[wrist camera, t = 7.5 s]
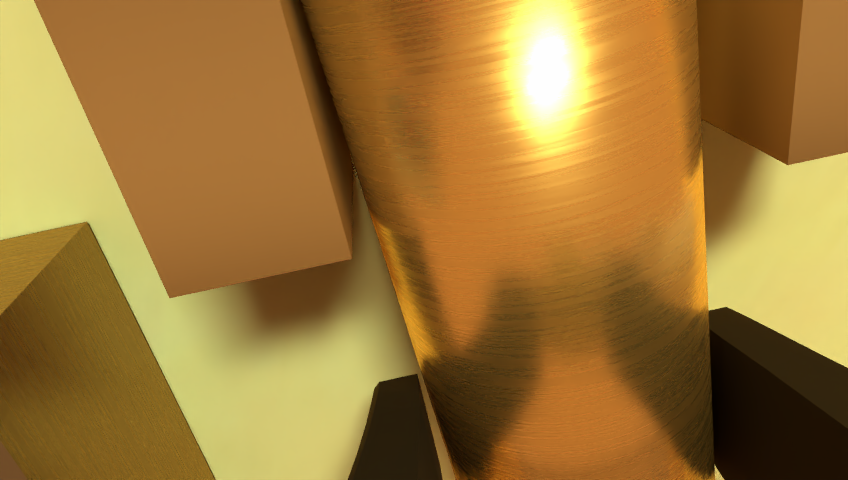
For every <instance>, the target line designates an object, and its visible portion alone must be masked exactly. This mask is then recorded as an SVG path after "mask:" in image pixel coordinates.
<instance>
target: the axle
mask: <svg viewBox="0 0 848 480" xmlns="http://www.w3.org/2000/svg"><path fill="white" fill-rule="evenodd" d="M301 3H302V6H303V9H304V12H305V15H306V18H307V21H308V24H309V27H310V30H311V33H312V37H313V40H314V43H315V46H316V49H317V52H318V55H319V58H320V61H321V64H322V67H323V70H324V73H325V77H326V80H327V83H328V86H329V89H330V92H331V95H332V98H333V101H334V104H335V107H336V110H337V114H338V117H339V120H340V123H341V126H342V129H343V132H344V135H345V138H346V141H347V144H348V147H349V151H350V154H351V157H352V160H353V163H354V166H355V169H356V172H357V175H358V178H359V181H360V184H361V187H362V191H363V194H364V197H365V200H366V203H367V206H368V209H369V212H370V215H371V218H372V221H373V224H374V228H375V231H376V234H377V237H378V240H379V243H380V246H381V249H382V252H383V255H384V258H385V261H386V265H387V268H388V271H389V274H390V277H391V280H392V283H393V286H394V289H395V292H396V295H397V298H398V301H399V305H400V308H401V311H402V314H403V317H404V320H405V323H406V326H407V329H408V332H409V335H410V338H411V342H412V345H413V348H414V351H415V354H416V357H417V360H418V363H419V366H420V369H421V372H422V375H423V379H424V382H425V385H426V388H427V391H428V394H429V397H430V400H431V403H432V406H433V409H434V412H435V415H436V419H437V422H438V425H439V428H440V431H441V434H442V437H443V440H444V443H445V446H446V449H447V452H448V456H449V459H450V462H451V465H452V468H453V471H454V474H455V477H456V480H715V468H714V442H713V416H712V391H711V365H710V339H709V313H708V287H707V261H706V235H705V209H704V183H703V157H702V131H701V105H700V79H699V54H698V28H697V2H696V0H301Z"/></svg>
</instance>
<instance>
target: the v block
mask: <svg viewBox="0 0 848 480" xmlns="http://www.w3.org/2000/svg"><path fill="white" fill-rule="evenodd" d="M0 480H215V479H214V477H213V475H212V473H211V471H210V469H209V467H208V465H207V463H206V461H205V459H204V457H203V455H202V453H201V451H200V449H199V447H198V445H197V442H196V440H195V438H194V436H193V434H192V432H191V430H190V428H189V426H188V424H187V422H186V420H185V418H184V416H183V414H182V412H181V410H180V408H179V406H178V404H177V402H176V400H175V398H174V396H173V394H172V392H171V390H170V388H169V386H168V384H167V382H166V380H165V378H164V376H163V374H162V372H161V370H160V368H159V366H158V364H157V362H156V360H155V358H154V356H153V354H152V352H151V350H150V348H149V346H148V344H147V342H146V340H145V338H144V336H143V334H142V332H141V330H140V328H139V326H138V324H137V322H136V319H135V317H134V315H133V313H132V311H131V309H130V307H129V305H128V303H127V301H126V299H125V297H124V295H123V293H122V291H121V289H120V287H119V285H118V283H117V281H116V279H115V277H114V275H113V273H112V271H111V269H110V267H109V265H108V263H107V261H106V259H105V257H104V255H103V253H102V251H101V249H100V247H99V245H98V243H97V241H96V239H95V237H94V235H93V233H92V231H91V229H90V227H89V225H88V223H87V222H83V223H79V224H74V225H69V226H65V227H60V228H55V229H51V230H46V231H41V232H37V233H32V234H27V235H23V236H18V237H13V238H9V239H4V240H0Z"/></svg>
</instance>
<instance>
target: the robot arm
mask: <svg viewBox="0 0 848 480" xmlns="http://www.w3.org/2000/svg"><path fill="white" fill-rule="evenodd" d="M708 313H709V339H710V365H711V391H712V416H713V442H714V464H715V466H716V467H717V469H718V471H719V472H720V474H721V475H722V477H723V478H724V480H848V368H847V367H845V366H843V365H841V364H839V363H837V362H835V361H833V360H831V359H829V358H827V357H825V356H823V355H821V354H819V353H817V352H815V351H813V350H811V349H809V348H807V347H805V346H803V345H801V344H799V343H797V342H795V341H793V340H791V339H789V338H788V337H786V336H784V335H782V334H780V333H778V332H776V331H774V330H772V329H770V328H768V327H766V326H764V325H762V324H760V323H758V322H756V321H754V320H752V319H750V318H748V317H746V316H744V315H742V314H740V313H738V312H736V311H734V310H732V309H730V308H727V307H724V308H720V309H715V310H710V311H708ZM348 480H442V474H441V468H440V464H439V460H438V456H437V451H436V447H435V443H434V439H433V435H432V431H431V427H430V423H429V419H428V415H427V411H426V407H425V403H424V399H423V395H422V391H421V387H420V383H419V379H418V375H417V374H414V375H409V376H405V377H400V378H396V379H391V380H386V381H382V382H379V383H378V385H377V386H376V387H375V389H374V393H373V398H372V403H371V407H370V411H369V415H368V419H367V423H366V426H365V430H364V433H363V436H362V440H361V443H360V446H359V450H358V453H357V456H356V458H355V461H354V464H353V467H352V470H351V473H350V475H349V478H348Z"/></svg>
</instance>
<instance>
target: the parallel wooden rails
mask: <svg viewBox="0 0 848 480" xmlns="http://www.w3.org/2000/svg"><path fill="white" fill-rule="evenodd" d="M34 1H35V4H36V6H37V8H38V10H39V12H40V15H41V17H42V19H43V21H44V23H45V26H46V28H47V30H48V32H49V34H50V36H51V39H52V41H53V43H54V45H55V47H56V50H57V52H58V54H59V56H60V58H61V61H62V63H63V65H64V67H65V69H66V72H67V74H68V76H69V78H70V80H71V83H72V85H73V87H74V89H75V91H76V94H77V96H78V98H79V100H80V102H81V105H82V107H83V109H84V111H85V113H86V116H87V118H88V120H89V122H90V124H91V127H92V129H93V131H94V133H95V135H96V138H97V140H98V142H99V144H100V146H101V148H102V151H103V153H104V155H105V157H106V159H107V162H108V164H109V166H110V168H111V170H112V173H113V175H114V177H115V179H116V181H117V184H118V186H119V188H120V190H121V192H122V195H123V197H124V199H125V201H126V203H127V206H128V208H129V210H130V212H131V214H132V217H133V219H134V221H135V223H136V225H137V228H138V230H139V232H140V234H141V236H142V239H143V241H144V243H145V245H146V247H147V250H148V252H149V254H150V256H151V258H152V261H153V263H154V265H155V267H156V269H157V271H158V274H159V276H160V278H161V280H162V282H163V285H164V287H165V289H166V291H167V293H168V296H169V298H173V297H177V296H182V295H186V294H191V293H196V292H200V291H205V290H210V289H214V288H219V287H224V286H228V285H233V284H238V283H242V282H247V281H252V280H256V279H261V278H265V277H270V276H275V275H279V274H284V273H289V272H293V271H298V270H303V269H307V268H312V267H317V266H321V265H326V264H330V263H335V262H340V261H344V260H349V259H352V205H353V163H352V159H351V155H350V151H349V147H348V144H347V141H346V138H345V135H344V132H343V129H342V126H341V123H340V120H339V117H338V114H337V110H336V107H335V104H334V101H333V98H332V95H331V92H330V89H329V86H328V83H327V80H326V77H325V73H324V70H323V67H322V64H321V61H320V58H319V55H318V52H317V49H316V46H315V43H314V40H313V37H312V33H311V30H310V27H309V24H308V21H307V18H306V15H305V12H304V9H303V6H302V3H301V0H34ZM696 2H697V28H698V54H699V79H700V105H701V119H703V120H705V121H707V122H708V123H710V124H712V125H714V126H716V127H718V128H720V129H722V130H723V131H725V132H727V133H729V134H731V135H733V136H735V137H736V138H738V139H740V140H742V141H744V142H746V143H748V144H749V145H751V146H753V147H755V148H757V149H759V150H761V151H762V152H764V153H766V154H768V155H770V156H772V157H774V158H775V159H777V160H779V161H781V162H783V163H785V164H787V165H790V164H795V163H800V162H804V161H809V160H814V159H818V158H823V157H827V156H832V155H837V154H841V153H846V152H848V0H696Z"/></svg>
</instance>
